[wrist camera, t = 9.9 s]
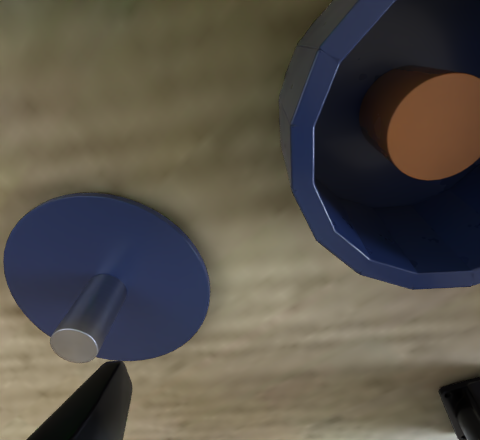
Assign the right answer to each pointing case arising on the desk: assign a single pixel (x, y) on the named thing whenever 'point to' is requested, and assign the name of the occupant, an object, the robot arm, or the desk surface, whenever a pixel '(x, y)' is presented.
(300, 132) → the blue short hollow cylinder
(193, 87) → the desk surface
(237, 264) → the desk surface
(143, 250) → the lid
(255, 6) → the desk surface
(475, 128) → the brown cylinder
